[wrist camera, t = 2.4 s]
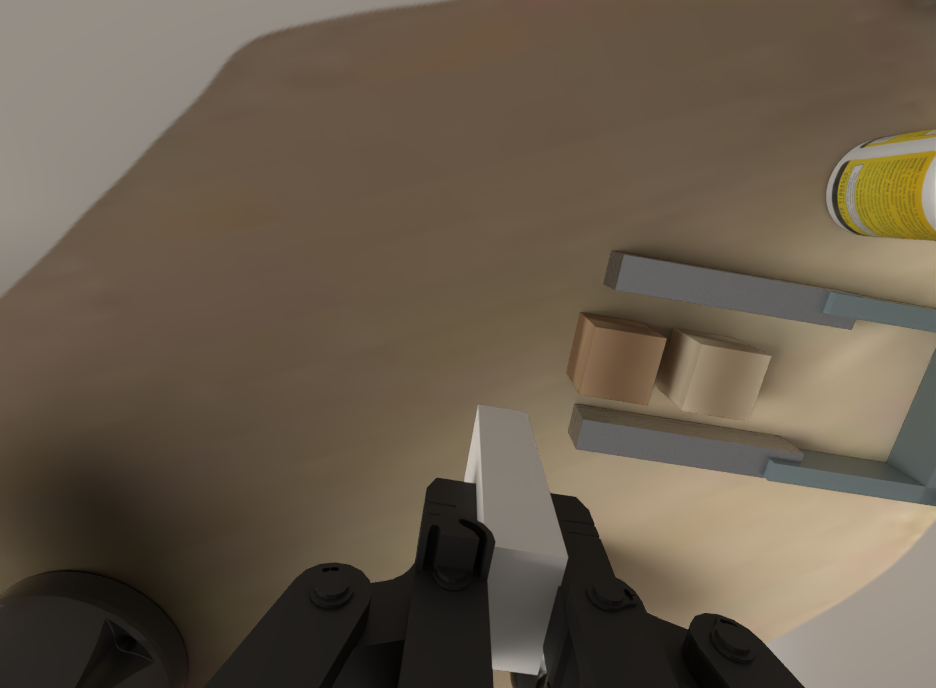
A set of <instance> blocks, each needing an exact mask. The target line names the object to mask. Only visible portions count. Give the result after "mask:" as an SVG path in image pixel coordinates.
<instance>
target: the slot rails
mask: <svg viewBox="0 0 936 688" xmlns="http://www.w3.org/2000/svg"><path fill="white" fill-rule="evenodd" d="M604 284H605V285H607V286H609V287H611V288H612V289H614V290H618V291H624V292H630V293H636V294H642V295H648V296H653V297H659V298H665V299H671V300H677V301H683V302H689V303H695V304H701V305H707V306H713V307H719V308H725V309H731V310H737V311H742V312H748V313H754V314H760V315H766V316H772V317H778V318H784V319H790V320H796V321H802V322H808V323H814V324H820V325H826V326H831V327H837V328H843V329H849V330H852V328H853V325H854V323H855V320H856V319H854V318H848V317H842V316H836V315H830V314H826V313H823V311H824V308H825V305H826V303H827V300H828V297H829V294H830V292H833V293H839V294H845V295H851V296H857V297H863V298H864V297H865V296H862V295H858V294H853V293H849V292H844V291H840V290H835V289H830V288H824V287H818V286H812V285H806V284H801V283H795V282H789V281H783V280H777V279H772V278H766V277H760V276H754V275H748V274H743V273H737V272H731V271H725V270H719V269H713V268H708V267H702V266H696V265H690V264H684V263H679V262H673V261H667V260H661V259H655V258H650V257H644V256H638V255H632V254H626V253H621V252H615V251H611V255H610V259H609V263H608V267H607V272H606V276H605V280H604ZM568 433H569V435H570V437H571V439H572V441H573V444H574V446H575V448H576V449H578V450H585V451H591V452H598V453H605V454H611V455H618V456H624V457H631V458H637V459H644V460H650V461H657V462H663V463H670V464H676V465H683V466H689V467H696V468H702V469H709V470H716V471H722V472H729V473H735V474H742V475H748V476H755V477H761V478H765V477H764V473H765V471H766V468H767V465H768V462H769V460H770V459H771V460H777V461H784V462H790V463H797V464H801V461H802V459H803V456H804V453H802V452H801V451H799V450H798V449H797V448H795V447H794V446H793V445H791V444H790V443H788V442H787V441H786V440H784V439H783V438H782V437H780V436H776V435H770V434H763V433H757V432H751V431H744V430H738V429H731V428H725V427H719V426H712V425H706V424H700V423H693V422H687V421H681V420H674V419H668V418H662V417H655V416H649V415H643V414H636V413H630V412H623V411H617V410H611V409H604V408H598V407H592V406H585V405H579V404H575V405H574V409H573V413H572V417H571V421H570V425H569V429H568Z"/></svg>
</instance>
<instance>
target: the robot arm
mask: <svg viewBox="0 0 936 688" xmlns="http://www.w3.org/2000/svg"><path fill="white" fill-rule="evenodd" d="M594 525H595V524H594V522H593V519H592V517H591V514H590V512H589V510H588V509H587V508H586V507H585V506H584V505H583V504H582V503H581V502H580V501H579V500H578V499H577V498H576V497H572V496H566V495H559V494H552V493H550V492H549V488H548V485H547V481H546V478H545V474H544V471H543V467H542V464H541V460H540V457H539V453H538V450H537V446H536V443H535V439H534V436H533V432H532V429H531V425H530V422H529V418H528V415H527V412H523V411H516V410H510V409H504V408H497V407H491V406H485V405H478V408H477V414H476V419H475V424H474V430H473V435H472V441H471V446H470V451H469V457H468V462H467V468H466V473H465V478H464V482H462V481H455V480H449V479H442V478H436V479H435V480H434V481H433V482H432V483H431V484H430V485H429V486H428V487H427V490H426V496H425V503H424V509H423V515H422V521H421V527H420V533H419V539H418V546H417V552H416V559H415V563H414V564H413V566H412V567H411V568H410V570H408V571H407V572H406V573H404V574H403V575H401V576H399V577H397V578H395V579H392V580H387V581H383V582H375V583H370V580H369V579H368V578H367V577H366V575H365V574H364V573H363V572H362V571H361V570H359V569H357V568H355V567H353V566H351V565H347V564H341V563H326V564H319V565H317V566H314V567H312V568H309V569H307V570H305V571H304V572H303V573H302V574H301V575H299V576H298V577H297V578H296V579H295V580H294V581H293V582H292V584H291V585H290V586H289V587H288V588H287V589H286V591H285V592H284V593H283V594H282V595H281V597H280V598H279V599H278V600H277V601H276V603H275V604H274V605H273V606H272V607H271V609H270V610H269V611H268V612H267V613H266V614H265V616H264V617H263V618H262V619H261V620H260V622H259V623H258V624H257V625H256V626H255V628H254V629H253V630H252V631H251V632H250V634H249V635H248V636H247V637H246V638H245V639H244V641H243V642H242V643H241V644H240V645H239V647H238V648H237V649H236V650H235V651H234V653H233V654H232V655H231V656H230V657H229V659H228V660H227V661H226V662H225V663H224V664H223V666H222V667H221V668H220V669H219V670H218V672H217V673H216V674H215V675H214V676H213V678H212V679H211V680H210V681H209V682H208V684H207V685H206V686H205V687H204V688H493V671H492V669H495V670H503V671H510V672H518V673H525V674H533V675H538V672H539V668H540V664H541V660H542V656H543V653H544V659H545V665H546V671H547V676H546V680H545V684H544V688H805V687H804V686H803V685H802V684H801V683H800V682H799V681H798V680H797V679H796V678H795V676H794V675H793V674H792V673H791V672H790V671H789V670H788V669H787V668H786V667H785V666H784V664H783V663H782V662H781V661H780V660H779V659H778V658H777V657H776V656H775V655H774V654H773V652H772V651H771V650H770V649H769V648H768V647H767V646H766V645H765V644H764V643H763V642H762V641H761V640H760V639H759V638H758V637H757V636H756V635H755V634H753V633H752V632H751V631H750V630H749V629H747V628H746V627H744V626H742V625H741V624H739V623H737V622H736V621H734V620H732V619H729V618H726V617H724V616H721V615H718V614H709V613H704V614H700V615H697V616H695V617H694V619H693V620H692V622H691V623H690V626H689V629H685V628H683V627H680V626H677V625H675V624H672V623H670V622H667V621H664V620H662V619H659V618H657V617H655V616H653V615H651V614H649V613H647V612H646V610H645V607H644V605H643V603H642V601H641V600H640V598H639V597H638V595H637V594H636V592H635V591H634V590H633V589H632V588H631V587H629V586H628V585H627V584H626V583H625V582H623V581H621V580H620V579H618V578H616V577H615V575H614V572H613V570H612V567H611V564H610V562H609V559H608V557H607V554H606V552H605V549H604V547H603V544H602V542H601V539H599V534H598V532H597V529H596V527H594ZM187 671H188V662H187V655H186V651H185V647H184V644H183V642H182V639H181V637H180V635H179V633H178V631H177V630H176V628H175V627H174V625H173V624H172V622H171V621H170V620H169V619H168V617H167V616H166V615H165V614H164V613H163V612H162V611H161V610H160V609H159V608H158V607H157V606H156V605H155V604H154V603H152V602H151V601H150V600H149V599H147V598H146V597H144V596H143V595H141V594H140V593H138V592H137V591H135V590H133V589H131V588H130V587H128V586H125V585H123V584H121V583H119V582H116V581H114V580H111V579H108V578H105V577H101V576H98V575H93V574H88V573H81V572H51V573H44V574H40V575H36V576H33V577H29V578H27V579H24V580H22V581H20V582H18V583H16V584H15V585H13V586H11V587H10V588H9V589H7V590H6V591H5V592H3V593H2V594H1V595H0V688H184V686H185V683H186V679H187Z"/></svg>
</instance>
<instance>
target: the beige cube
mask: <svg viewBox="0 0 936 688" xmlns="http://www.w3.org/2000/svg"><path fill="white" fill-rule="evenodd" d="M770 359H771V356H770V355H768V354H766V353H764V352H762V351H760V350H758V349H756V348H754V347H752V346H750V345H748V344H746V343H744V342H742V341H739V340H737V339H735V338H731V337H725V336H719V335H713V334H707V333H701V332H695V331H689V330H683V329H678V328H673V331H672V335H671V338H670V342H669V345H668V349H667V352H666V356H665V359H664V363H663V366H662V369H661V373H660V376H659V380H658V383H657V388H658V389H659V390H660V391H661V392H662V393H663V394H664V395H666V396H667V397H668V398H669V399H670V400H671V401H672V402H673V403H674V404H675V405H676V406H677V407H678V408H679V409H680V410H681V411H686V412H692V413H698V414H704V415H711V416H717V417H723V418H729V419H735V420H742V421H748V422H749V419H750V416H751V414H752V411H753V408H754V405H755V402H756V399H757V396H758V394H759V391H760V388H761V385H762V382H763V379H764V376H765V373H766V371H767V368H768V365H769V362H770Z"/></svg>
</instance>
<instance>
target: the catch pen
mask: <svg viewBox="0 0 936 688" xmlns="http://www.w3.org/2000/svg"><path fill="white" fill-rule="evenodd" d="M823 313H826V314H830V315H836V316H842V317H848V318H854V319H859V320H865V321H871V322H877V323H883V324H889V325H895V326H901V327H907V328H912V329H918V330H924V331H930V332H936V308H930V307H924V306H919V305H913V304H907V303H901V302H895V301H890V300H884V299H878V298H872V297H866V296H865V297H864V298H863V297H857V296H851V295H845V294H839V293H833V292H830V294H829V297H828V300H827V303H826V305H825V308H824V311H823ZM798 450H799V451H801V452H802V453H804V456H803V459H802V461H801V464H797V463H790V462H784V461H777V460H771V459H770V460H769V462H768V465H767V468H766V471H765V473H764V477H765V478H766V479H767V480H768V481H774V482H781V483H787V484H794V485H800V486H807V487H813V488H820V489H826V490H833V491H839V492H846V493H853V494H859V495H866V496H872V497H879V498H885V499H892V500H898V501H905V502H911V503H918V504H924V505H931V506H936V350H935V352H934V354H933V357H932V359H931V361H930V364H929V366H928V368H927V370H926V373H925V375H924V377H923V380H922V382H921V384H920V387H919V389H918V391H917V394H916V396H915V398H914V401H913V403H912V405H911V407H910V410H909V412H908V414H907V417H906V419H905V421H904V424H903V426H902V428H901V431H900V433H899V435H898V437H897V440H896V442H895V444H894V447H893V449H892V451H891V454H890V456H889V458H888V461H887V463H885V462H878V461H872V460H866V459H859V458H853V457H846V456H840V455H834V454H827V453H821V452H815V451H808V450H802V449H798Z"/></svg>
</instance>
